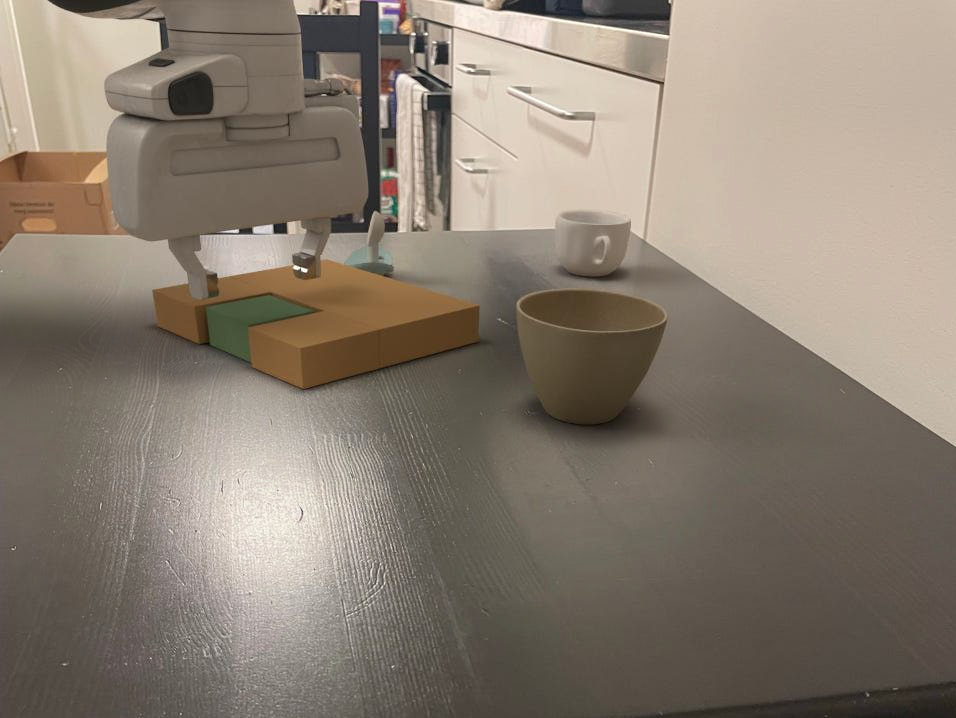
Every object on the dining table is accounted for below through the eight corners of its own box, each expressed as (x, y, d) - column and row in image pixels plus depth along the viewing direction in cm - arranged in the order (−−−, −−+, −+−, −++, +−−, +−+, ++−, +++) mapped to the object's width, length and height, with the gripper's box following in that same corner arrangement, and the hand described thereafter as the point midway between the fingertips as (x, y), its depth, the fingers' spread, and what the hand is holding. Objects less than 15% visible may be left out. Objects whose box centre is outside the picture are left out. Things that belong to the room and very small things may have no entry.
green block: (209, 345, 77) (205, 306, 75) (272, 331, 81) (269, 294, 79) (252, 364, 74) (248, 324, 72) (316, 348, 77) (314, 310, 75)
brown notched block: (157, 326, 81) (151, 289, 79) (328, 292, 92) (326, 259, 90) (303, 389, 69) (300, 347, 68) (478, 341, 80) (480, 304, 78)
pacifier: (333, 289, 93) (395, 287, 94) (327, 219, 90) (392, 218, 90) (334, 270, 99) (392, 269, 100) (329, 204, 96) (389, 203, 96)
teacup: (544, 263, 104) (548, 209, 101) (612, 262, 106) (618, 209, 103) (567, 286, 96) (572, 229, 93) (641, 286, 98) (648, 229, 95)
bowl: (489, 423, 65) (494, 315, 61) (537, 379, 73) (543, 281, 69) (633, 449, 62) (648, 338, 58) (667, 401, 70) (682, 299, 66)
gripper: (330, 73, 75) (338, 260, 83) (79, 81, 63) (117, 300, 70) (383, 80, 71) (387, 275, 79) (128, 89, 59) (162, 319, 67)
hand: (258, 287), depth 75 cm, fingers open, 8 cm apart
